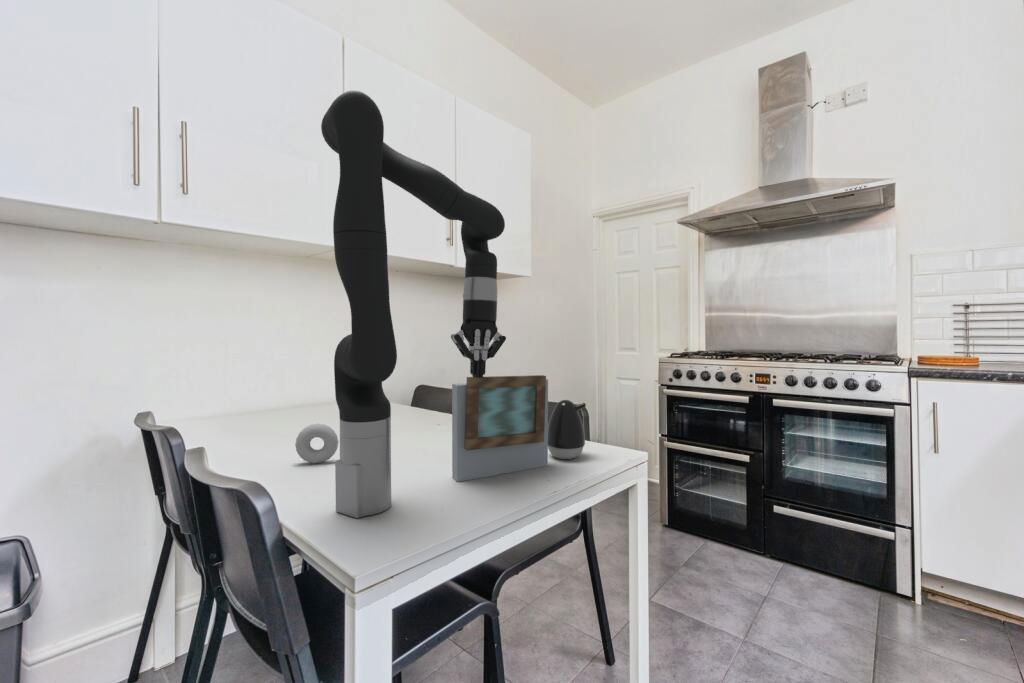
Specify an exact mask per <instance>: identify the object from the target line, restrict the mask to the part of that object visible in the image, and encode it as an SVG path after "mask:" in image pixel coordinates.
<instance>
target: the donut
mask: <svg viewBox="0 0 1024 683" xmlns="http://www.w3.org/2000/svg"><path fill="white" fill-rule="evenodd" d="M314 438H315V439H316V438H320V439H321V440H322V441H323V446H322V447H321V448H320V449H314V448H313V447H312V446H311V442H312V440H313V439H314ZM338 447H339V437H338V435H337V433H336V432H335V430H334V429H333V428H331V427H330V426H329V425H326V424H325V423H314V424H310V425H307V426H306V427H304V428H302V430H300V431H299V433H298V435H297V437H296V439H295V451H296V454H298V456H299V457H300V458H301V459H302V460H303V461H305V462H308V463H310V464H320V463H324V462H326V461H328V460H330V459H331V458H332V457H333V456H334V455H335V454H336V452H337V450H338Z"/></svg>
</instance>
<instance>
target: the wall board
mask: <svg viewBox="0 0 1024 683" xmlns="http://www.w3.org/2000/svg"><path fill="white" fill-rule="evenodd" d="M451 386H452V387H451V392H452V393H451V395H452V396H451V399H452V400H451V405H452V406H451V410H452V411H451V414H452V415H451V419H452V420H451V426H452V429H451V432H452V433H451V434H452V435H451V448H452V449H451V452H452V453H451V454H452V455H451V456H452V463H451V464H452V465H451V467H452V468H451V471H452V474H451V475H452V477H451V478H452V479H453V480H454V481H455V482H464V481H469V480H475V479H481V478H485V477H486V478H487V477H492V476H498V475H503V474H508V473H515V472H520V471H525V470H533V469H537V468H541V467H542V466H543V467H547V465H548V464H549V463H548V461H549V460H548V459H549V456H548V454H549V453H548V451H549V449H548V425H549V379H547V378H546V396H545V428H544V442H540V443H531V444H522V445H513V446H504V447H495V448H486V449H477V450H468V451H467V450H466V449H465V418H466V382H463V383H452V385H451ZM548 466H549V465H548Z"/></svg>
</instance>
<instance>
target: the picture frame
mask: <svg viewBox="0 0 1024 683" xmlns="http://www.w3.org/2000/svg"><path fill="white" fill-rule="evenodd" d="M546 379H547V375H544V374H543V375H542V374H541V375H537V374H536V375H504V376H503V375H500V376H498V375H497V376H496V375H494V376H483V377H478V378H475V377H473V376H466V382H465V383H466V418H465V449H466V450H467V451H468V450H477V449H486V448H495V447H504V446H513V445H522V444H531V443H540V442H544V428H545V396H546Z"/></svg>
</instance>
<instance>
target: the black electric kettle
mask: <svg viewBox="0 0 1024 683" xmlns="http://www.w3.org/2000/svg"><path fill="white" fill-rule="evenodd" d="M586 406H587V404H586V403H585V402H583V403H579V404H576V405H575V403H574V402H573V401H571V400H569V399H562V400H560V401H558V402H557V403H556V404H555V406H554V408H553V411H552V412H551V415H550V417H549V420H548V451H549V453H550V454H551V456H554V458H557V459H559V460H564V459H569V460H574V459H576V458H578V457H579V456H580V455H581V454H582V452H583V449H584V446H585V445H586V438H585V437H586V436H585V431H584V429H585V428H584V424H583V421H582V418H581V415H580V412H579V410H582V409H583V408H585V407H586ZM573 458H574V459H573Z"/></svg>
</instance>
